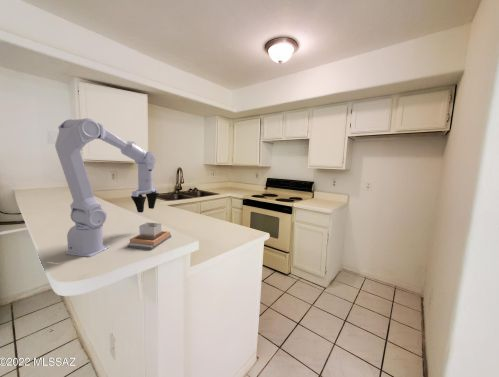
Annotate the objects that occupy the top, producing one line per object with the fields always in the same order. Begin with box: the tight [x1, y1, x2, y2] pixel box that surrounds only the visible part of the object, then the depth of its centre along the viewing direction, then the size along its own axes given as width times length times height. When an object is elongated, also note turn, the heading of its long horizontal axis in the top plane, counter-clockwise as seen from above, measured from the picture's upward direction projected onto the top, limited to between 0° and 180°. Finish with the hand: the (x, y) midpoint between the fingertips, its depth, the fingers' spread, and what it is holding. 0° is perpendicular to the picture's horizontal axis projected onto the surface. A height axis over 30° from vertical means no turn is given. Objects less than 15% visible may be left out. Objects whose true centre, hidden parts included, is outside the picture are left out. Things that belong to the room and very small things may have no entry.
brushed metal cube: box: [138, 222, 162, 241], centre depth 81 cm, size 6×5×6 cm
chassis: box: [127, 230, 172, 251], centre depth 82 cm, size 10×14×3 cm
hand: (146, 210), depth 91 cm, fingers open, 7 cm apart
